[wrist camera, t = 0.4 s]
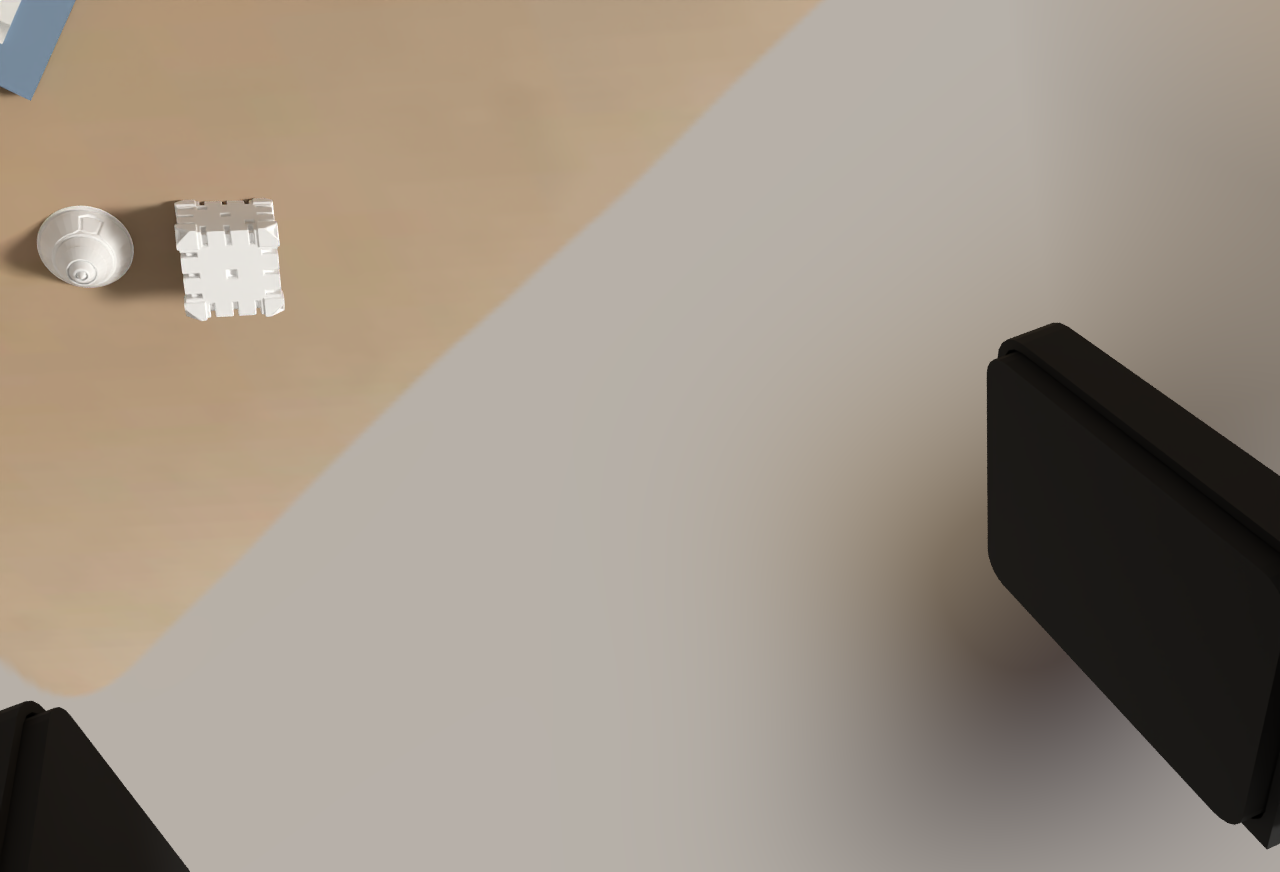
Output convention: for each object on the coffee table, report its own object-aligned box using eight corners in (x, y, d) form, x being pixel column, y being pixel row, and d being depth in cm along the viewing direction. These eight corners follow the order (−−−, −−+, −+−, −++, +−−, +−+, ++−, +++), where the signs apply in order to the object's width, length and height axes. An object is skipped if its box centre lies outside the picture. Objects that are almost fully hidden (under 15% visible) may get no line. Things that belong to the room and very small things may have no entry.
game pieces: (270, 190, 38) (277, 224, 35) (278, 280, 40) (285, 318, 37) (-142, 201, 34) (-167, 240, 31) (-114, 301, 36) (-136, 345, 33)
